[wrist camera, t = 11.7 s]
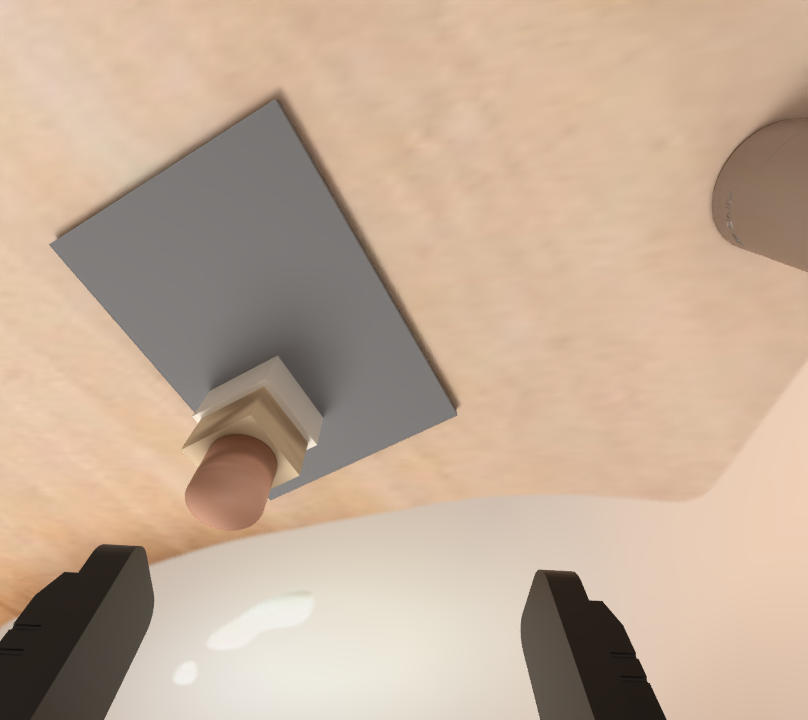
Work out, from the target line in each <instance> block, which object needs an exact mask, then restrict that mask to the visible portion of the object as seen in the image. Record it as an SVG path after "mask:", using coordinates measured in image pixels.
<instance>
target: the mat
mask: <svg viewBox="0 0 808 720" xmlns="http://www.w3.org/2000/svg"><path fill="white" fill-rule="evenodd" d="M49 245H50V246H51V248H52V249H53V250H54V251H55V252H56V253H57V254H58V256H59V257H60V258H61V259H62V260H63V261H64V263H65V264H66V265H67V266H68V267H69V268H70V269H71V271H72V272H73V273H74V274H75V275H76V276H77V278H78V279H79V280H80V281H81V282H82V283H83V284H84V286H85V287H86V288H87V289H88V290H89V291H90V293H91V294H92V295H93V296H94V297H95V298H96V299H97V301H98V302H99V303H100V304H101V305H102V306H103V308H104V309H105V310H106V311H107V312H108V313H109V314H110V316H111V317H112V318H113V319H114V320H115V321H116V323H117V324H118V325H119V326H120V327H121V328H122V329H123V331H124V332H125V333H126V334H127V335H128V336H129V338H130V339H131V340H132V341H133V342H134V343H135V344H136V346H137V347H138V348H139V349H140V350H141V351H142V353H143V354H144V355H145V356H146V357H147V358H148V359H149V361H150V362H151V363H152V364H153V365H154V366H155V367H156V369H157V370H158V371H159V372H160V373H161V374H162V376H163V377H164V378H165V379H166V380H167V381H168V382H169V384H170V385H171V386H172V387H173V388H174V389H175V391H176V392H177V393H178V394H179V395H180V396H181V397H182V399H183V400H184V401H185V402H186V403H187V404H188V406H189V407H190V408H191V409H192V410H193V411H194V412H196V410H197V409H198V407H199V406H200V404H201V403H202V401H203V400H204V398H205V397H206V395H207V394H208V393H209V391H211V390H212V389H214V388H216V387H218V386H220V385H222V384H224V383H226V382H228V381H230V380H232V379H233V378H235V377H237V376H239V375H241V374H243V373H245V372H247V371H249V370H251V369H253V368H254V367H256V366H258V365H260V364H262V363H264V362H266V361H268V360H270V359H272V358H274V357H275V356H277V355H278V357H279V358H280V359H281V361H282V362H283V363H284V365H285V366H286V367H287V369H288V370H289V372H290V373H291V374H292V376H293V377H294V378H295V380H296V381H297V383H298V384H299V385H300V387H301V388H302V389H303V391H304V392H305V393H306V395H307V396H308V398H309V399H310V400H311V402H312V403H313V404H314V406H315V407H316V409H317V410H318V411H319V413H320V414H321V415H322V417H323V422H322V426H321V430H320V435H319V439H318V443H317V445H316V446H314V447H312V448H310V449H308V450H306V454H305V457H304V461H303V465H302V469H301V473H300V476H298V477H296V478H293V479H291V480H289V481H287V482H285V483H283V484H281V485H278V486H276V487H274V488H272V489H271V490H270V493H269V496H268V498H269V499H270V500H272V499H275V498H277V497H279V496H281V495H283V494H286V493H288V492H290V491H292V490H294V489H297V488H299V487H301V486H303V485H305V484H308V483H310V482H312V481H314V480H316V479H319V478H321V477H323V476H325V475H327V474H330V473H332V472H334V471H336V470H338V469H341V468H343V467H345V466H347V465H349V464H352V463H354V462H356V461H358V460H360V459H363V458H365V457H367V456H369V455H371V454H374V453H376V452H378V451H380V450H382V449H385V448H387V447H389V446H391V445H393V444H396V443H398V442H400V441H402V440H404V439H407V438H409V437H411V436H413V435H415V434H418V433H420V432H422V431H424V430H426V429H429V428H431V427H433V426H435V425H437V424H440V423H442V422H444V421H446V420H448V419H451V418H453V417H455V416H457V411H456V408H455V407H454V405H453V403H452V401H451V400H450V398H449V396H448V394H447V393H446V391H445V389H444V388H443V386H442V384H441V382H440V381H439V379H438V377H437V375H436V374H435V372H434V370H433V368H432V367H431V365H430V363H429V361H428V360H427V358H426V356H425V354H424V353H423V351H422V349H421V347H420V346H419V344H418V342H417V341H416V339H415V337H414V335H413V334H412V332H411V330H410V328H409V327H408V325H407V323H406V321H405V320H404V318H403V316H402V314H401V313H400V311H399V309H398V307H397V306H396V304H395V302H394V300H393V299H392V297H391V295H390V293H389V292H388V290H387V288H386V287H385V285H384V283H383V281H382V280H381V278H380V276H379V274H378V273H377V271H376V269H375V267H374V266H373V264H372V262H371V260H370V259H369V257H368V255H367V253H366V252H365V250H364V248H363V246H362V245H361V243H360V241H359V240H358V238H357V236H356V234H355V233H354V231H353V229H352V227H351V226H350V224H349V222H348V220H347V219H346V217H345V215H344V213H343V212H342V210H341V208H340V206H339V205H338V203H337V201H336V199H335V198H334V196H333V194H332V193H331V191H330V189H329V187H328V186H327V184H326V182H325V180H324V179H323V177H322V175H321V173H320V172H319V170H318V168H317V166H316V165H315V163H314V161H313V159H312V158H311V156H310V154H309V152H308V151H307V149H306V147H305V145H304V144H303V142H302V140H301V139H300V137H299V135H298V133H297V132H296V130H295V128H294V126H293V125H292V123H291V121H290V119H289V118H288V116H287V114H286V112H285V111H284V109H283V107H282V105H281V104H280V102H279V100H277V99H274V100H273V101H271V102H270V103H268V104H266V105H265V106H263V107H262V108H260V109H259V110H257V111H256V112H254V113H252V114H251V115H249V116H248V117H246V118H245V119H243V120H242V121H240V122H238V123H237V124H235V125H234V126H232V127H231V128H229V129H228V130H226V131H225V132H223V133H221V134H220V135H218V136H217V137H215V138H214V139H212V140H211V141H209V142H207V143H206V144H204V145H203V146H201V147H200V148H198V149H197V150H195V151H193V152H192V153H190V154H189V155H187V156H186V157H184V158H183V159H181V160H180V161H178V162H176V163H175V164H173V165H172V166H170V167H169V168H167V169H166V170H164V171H162V172H161V173H159V174H158V175H156V176H155V177H153V178H152V179H150V180H149V181H147V182H145V183H144V184H142V185H141V186H139V187H138V188H136V189H135V190H133V191H131V192H130V193H128V194H127V195H125V196H124V197H122V198H121V199H119V200H117V201H116V202H114V203H113V204H111V205H110V206H108V207H107V208H105V209H104V210H102V211H100V212H99V213H97V214H96V215H94V216H93V217H91V218H90V219H88V220H86V221H85V222H83V223H82V224H80V225H79V226H77V227H76V228H74V229H72V230H71V231H69V232H68V233H66V234H65V235H63V236H62V237H60V238H59V239H57V240H55V241H54V242H52V243H51V244H49Z"/></svg>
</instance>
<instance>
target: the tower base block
mask: <svg viewBox="0 0 808 720" xmlns="http://www.w3.org/2000/svg"><path fill="white" fill-rule="evenodd" d="M264 386H265V388H266V389H267V390H268V392H269V393H270V394H271V395H272V397H273V398H274V399H275V401H276V402H277V403H278V404H279V406H280V407H281V408H282V410H283V411H284V412H285V414H286V415H287V416H288V417H289V419H290V420H291V421H292V423H293V424H294V425H295V427H296V428H297V429H298V430H299V432H300V433H301V434H302V436H303V437H304V438H305V440H306V441H307V442H308V446H307V450H308V449H310V448H312V447H314V446H316V445H317V443H318V439H319V435H320V430H321V426H322V422H323V417H322V415H321V414H320V413H319V411H318V410H317V409H316V407H315V406H314V404H313V403H312V402H311V400H310V399H309V398H308V396H307V395H306V393H305V392H304V391H303V389H302V388H301V387H300V385H299V384H298V383H297V381H296V380H295V378H294V377H293V376H292V374H291V373H290V372H289V370H288V369H287V367H286V366H285V365H284V363H283V362H282V361H281V359H280V358H279V357H278V355H277V356H275V357H274V358H272V359H270V360H268V361H266V362H264V363H262V364H260V365H258V366H256V367H254V368H253V369H251V370H249V371H247V372H245V373H243V374H241V375H239V376H237V377H235V378H233V379H232V380H230V381H228V382H226V383H224V384H222V385H220V386H218V387H216V388H214V389H212V390H211V391H209V393H208V394H207V395H206V397H205V398H204V400H203V401H202V403H201V404H200V406H199V407H198V409H197V410H196V412H195V413H194V414H193V416H192V417H193V418H194V419H195V421H196V422H197V423H199V421H200V420H201V419H202V418H204V417H206V416H207V415H209V414H211V413H213V412H215V411H217V410H219V409H221V408H223V407H225V406H227V405H229V404H231V403H233V402H235V401H237V400H239V399H241V398H243V397H244V396H246V395H248V394H250V393H252V392H254V391H256V390H258V389H260V388H262V387H264Z"/></svg>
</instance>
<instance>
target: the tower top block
mask: <svg viewBox="0 0 808 720" xmlns="http://www.w3.org/2000/svg"><path fill="white" fill-rule="evenodd" d="M231 434H245V435H249V436H253V437H255V438H257V439H259V440H261V441H263V442H264V443H265V444H267V445H268V446H269V447H270V448H271V450H272V451H273V452H274V454H275V456H276V459H277V471H276V474H275V477H274V481H273V484H272V487H271V489H272V488H274V487H276V486H278V485H281V484H283V483H285V482H287V481H289V480H291V479H293V478H296V477H298V476H300V473H301V469H302V465H303V461H304V457H305V454H306V450H307V446H308V442H307V441H306V440H305V438H304V437H303V436H302V434H301V433H300V432H299V430H298V429H297V428H296V427H295V425H294V424H293V423H292V421H291V420H290V419H289V417H288V416H287V415H286V414H285V412H284V411H283V410H282V408H281V407H280V406H279V404H278V403H277V402H276V401H275V399H274V398H273V397H272V395H271V394H270V393H269V392H268V390H267V389H266V388H265V386H264V387H262V388H260V389H258V390H256V391H254V392H252V393H250V394H248V395H246V396H244V397H243V398H241V399H239V400H237V401H235V402H233V403H231V404H229V405H227V406H225V407H223V408H221V409H219V410H217V411H215V412H213V413H211V414H209V415H207V416H206V417H204V418H202V419H201V420H200V421H199V423H198V424H197V426H196V427H195V429H194V430H193V432H192V434H191V435H190V437H189V438H188V440H187V441H186V443H185V444H184V446H183V447H182V449H181V451H182V452H183V453H184V454H185V455H186V456H187V457H188V458H189V459H190V460H191V461H192V463H193V464H194V465H195V466H196V467H197V468H198V467H199V465H200V464H201V462H202V460H203V458H204V456H205V455H206V453H207V451H208V449H209V448H210V446H211V445H212V444H213V443H214V442H215V441H216V440H217V439H219V438H221V437H223V436H226V435H231Z"/></svg>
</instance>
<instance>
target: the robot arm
mask: <svg viewBox="0 0 808 720" xmlns="http://www.w3.org/2000/svg"><path fill="white" fill-rule="evenodd" d="M712 211H713V219H714V222H715V224H716V227H717V229H718V231H719V232H720V233H721V235H722V236H723V238H725V239H726V240H727V241H728V242H730V243H731V244H732V245H735V246H737V247H740V248H742V249H745V250H748V251H751V252H753V253H756V254H759V255H762V256H764V257H767V258H770V259H772V260H775V261H778V262H781V263H783V264H786V265H789V266H792V267H795V268H797V269H800V270H803V271H806V272H808V118H800V119H787V120H783V121H780V122H776V123H773V124H771V125H769V126H767V127H765V128H763V129H761V130H759V131H757V132H756V133H755V134H753V135H752V136H751V137H749V138H748V139H746V140H745V141H744V142H743V143H742V144H741V145H740V146H739V147H738V148H737V149H736V150H735V151H734V152H733V154H732V155H731V157H730V158H729V159H728V161H727V162H726V164H725V165H724V167H723V169H722V171H721V173H720V175H719V177H718V179H717V182H716V185H715V189H714V192H713V200H712ZM153 608H154V594H153V588H152V583H151V577H150V571H149V566H148V561H147V555H146V551H145V549H144V548H143V547H142V546H127V545H109V544H102V545H100V546H98V547H97V548H96V549H95V550H94V551H93V553H92V554H91V555H90V557H89V558H88V560H87V561H86V563H85V564H84V565H83V567H82V568H81V570H80V571H79V573H73V572H64V573H63V574H61V575H60V576H59V577H58V578H56V579H55V580H54V581H53V582H51V583H50V584H49V585H48V586H46V587H45V588H44V589H42V590H41V591H40V592H39V593H37V594H36V595H35V596H34V597H33V599H32V600H31V601H30V603H29V604H28V605H27V607H26V608H25V609H24V611H23V612H22V613H21V615H20V616H19V617H18V619H17V620H16V621H15V623H14V626H13V628H12V629H11V630H8V632H7V633H6V634H5V636H4V637H3V638H2V640H1V641H0V720H104V719H105V717H106V715H107V712H108V710H109V708H110V706H111V704H112V702H113V700H114V698H115V696H116V694H117V692H118V690H119V688H120V686H121V684H122V681H123V679H124V677H125V675H126V673H127V671H128V669H129V667H130V665H131V663H132V661H133V659H134V657H135V655H136V653H137V650H138V648H139V646H140V644H141V642H142V640H143V638H144V636H145V634H146V632H147V629H148V627H149V624H150V621H151V618H152V613H153ZM521 641H522V648H523V652H524V656H525V660H526V664H527V668H528V672H529V676H530V680H531V684H532V688H533V692H534V696H535V700H536V704H537V708H538V712H539V716H540V720H666V717H665V715H664V713H663V711H662V709H661V707H660V705H659V702H658V700H657V699H656V696H655V694H654V692H653V689H652V688H651V685H650V683H648V682H647V679H646V678H647V676H646V674H645V672H644V670H643V668H642V665H641V663H640V661H639V659H637V658H636V652H635V650H634V648H633V646H632V644H631V642H630V639H629V637H628V635H627V633H626V631H625V629H624V626H623V625H622V624H621V622H620V621H619V620H618V619H617V618H616V617H615V615H614V614H613V613H612V612H611V611H610V610H609V608H608V607H607V606H606V605H605V604H604V603H603V601H589V599H588V597H587V594H586V592H585V590H584V587H583V585H582V582H581V580H580V578H579V576H578V575H577V574H576V573H575V572H572V571H554V570H538V571H537V572H536V574H535V576H534V579H533V582H532V586H531V589H530V592H529V595H528V598H527V602H526V605H525V608H524V611H523V614H522V619H521Z"/></svg>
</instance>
